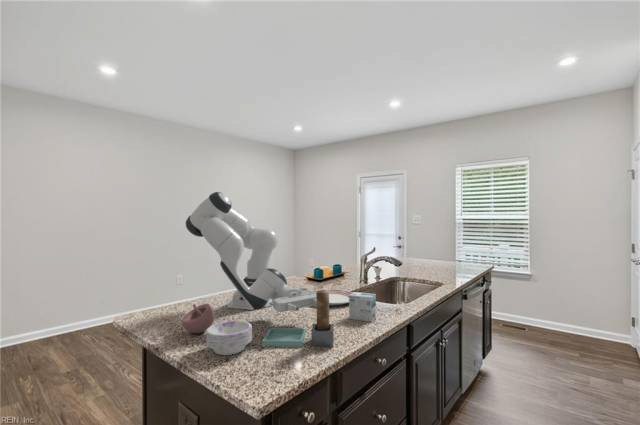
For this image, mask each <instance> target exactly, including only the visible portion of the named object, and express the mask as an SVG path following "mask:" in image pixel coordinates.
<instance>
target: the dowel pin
mask: <svg viewBox="0 0 640 425" xmlns="http://www.w3.org/2000/svg"><path fill="white" fill-rule="evenodd" d="M316 306H317V307H316V324H317V330H329V324H330V306H329V292H328V291H317V292H316Z"/></svg>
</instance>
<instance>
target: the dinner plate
mask: <svg viewBox="0 0 640 425" xmlns="http://www.w3.org/2000/svg"><path fill="white" fill-rule="evenodd" d="M312 291H313V292H317V291H328V292H329V307H331V306H333V307H334V306H341V305H345V304H349V295H350V294H351V293H353V292H351V291H349V290H344V289H336V288H335V289H333V288H322V289H314V290H312Z"/></svg>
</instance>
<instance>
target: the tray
mask: <svg viewBox="0 0 640 425" xmlns="http://www.w3.org/2000/svg"><path fill="white" fill-rule="evenodd" d="M306 335H307V328H304V327H303V328H298V327H297V328H295V327H293V328H291V327H290V328H289V327H287V328H285V327H280V328H279V327H270V328H269V329H268V331H267V332H266V334H265V335H264V337H263V339H262V342H261V343H262V344H261V345H262V347H264V348H266V347H284V348H285V347H290V348H294V347H295V348H302V347H303V345H304V342H305V339H306Z"/></svg>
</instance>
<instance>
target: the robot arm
mask: <svg viewBox="0 0 640 425" xmlns="http://www.w3.org/2000/svg"><path fill="white" fill-rule="evenodd" d="M185 227H186V229H187V231H188V232H189V233H190V234H191V235H193V236H196V237H199V238H201V237H203V238H204V239H205V240H206V241H207V243H208V244H209V245H210V246H211V247H212V248H213V249H214V250H215V251H216V252H217V254H218V256H219V257H220V262H219V264H220V267H221V270H222V271H223V272H224V273H225V275H226V277H227V278H228V280H230V282H231V283H232V285H233V286H234V287H235V289H236V291H234V293H233V294H232V298H231V301H229V302H228V303H227V306H226V307H227V308H228V309H235V310H236V309H237V310H251V311H258V310H262V309H264V308H267V307H270V306H272V307H273V309H274V310H275V311H276V312H277V313H284V312H288V311H293V312H297V311H299V310H300V309H303V308H308V307H312V306H314V307H315V308H317V306H316V292H313V291H314V290H310V288H304V287H303V288H298V287H291V286H289V285H288V282H287V278H286V277H285V276H284V274H283V273H281V272H280V271H279V270H277V269H275V268H271V267H270V261H271V255H272V252H273V250H274V249H275V248H276V247H277V245H278V242H279V241H278V235H277V234H276V232H275V231H272V230H270V229H267V228H266V229H265V228H257V227H255V226H253V225H252V224H251V223H250V220H249V219H248V218H247V217H246V216H245V215H243V214H241V212H239V211H237V210H236V209H235V208H233V207H232V201H231V200H230V198H229V197H228V195H226V194H224V193H222V192H220V191H214V192H212V193H210V194H209V196H208V197H207V198H206V199H204V200H203V201H202V202H201V203H200V204H199V205H198V206H197V207H196V209H195V210H193V212H192V213H191V214H190V215H188V217H187V219H186V220H185ZM244 248H245V249H247V250H252V252H251V256H250V258H249V259H248V260H247V263H246V266H247V267H246V273H247V274H246V276H245V277H244V278H242V277H241V275H240V274H239V272H238V265H239V261H240V259H241V257H242V255H243V251H244Z"/></svg>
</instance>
